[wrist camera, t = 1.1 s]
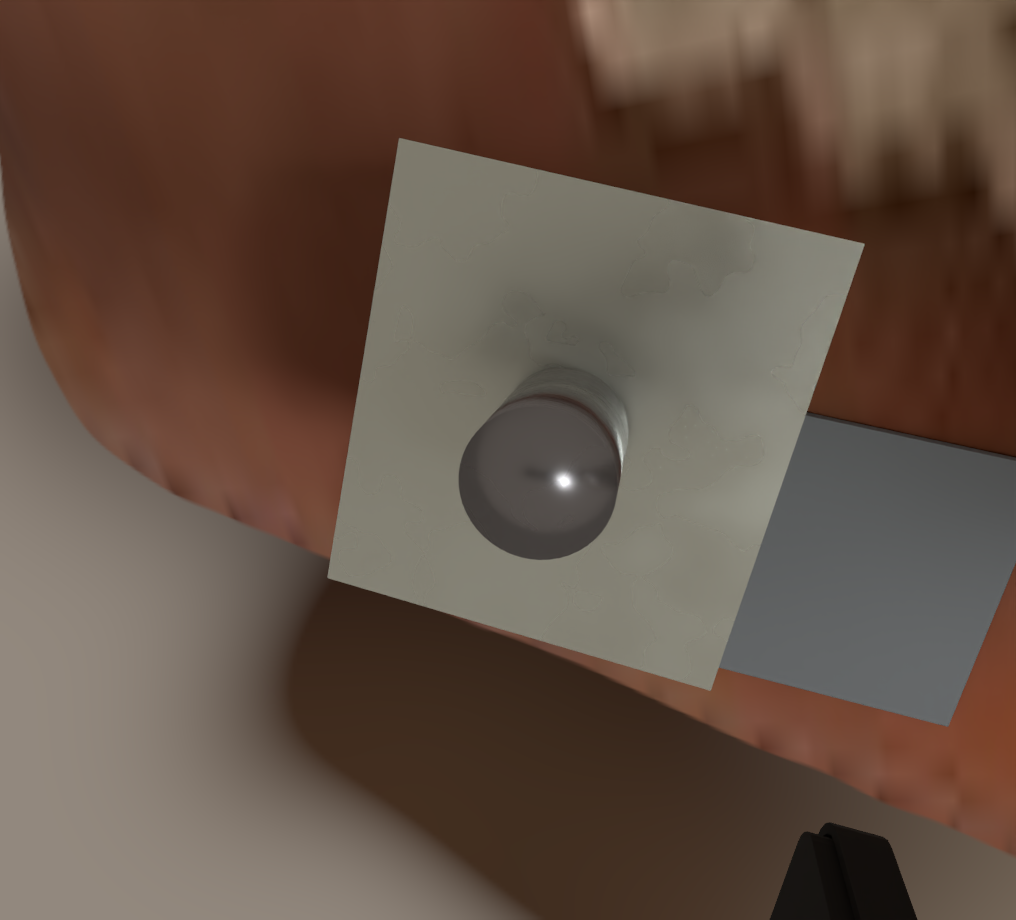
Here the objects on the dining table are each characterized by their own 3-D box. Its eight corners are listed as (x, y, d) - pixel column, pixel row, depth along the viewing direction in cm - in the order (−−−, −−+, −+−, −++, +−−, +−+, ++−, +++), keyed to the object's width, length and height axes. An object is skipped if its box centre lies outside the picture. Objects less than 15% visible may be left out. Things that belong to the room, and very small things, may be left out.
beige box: (777, 230, 38) (921, 252, 16) (695, 494, 42) (719, 803, 20) (519, 171, 39) (324, 116, 17) (465, 433, 43) (250, 657, 21)
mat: (1046, 464, 38) (1054, 469, 38) (943, 717, 43) (948, 726, 42) (743, 398, 40) (744, 402, 39) (673, 648, 44) (673, 655, 44)
